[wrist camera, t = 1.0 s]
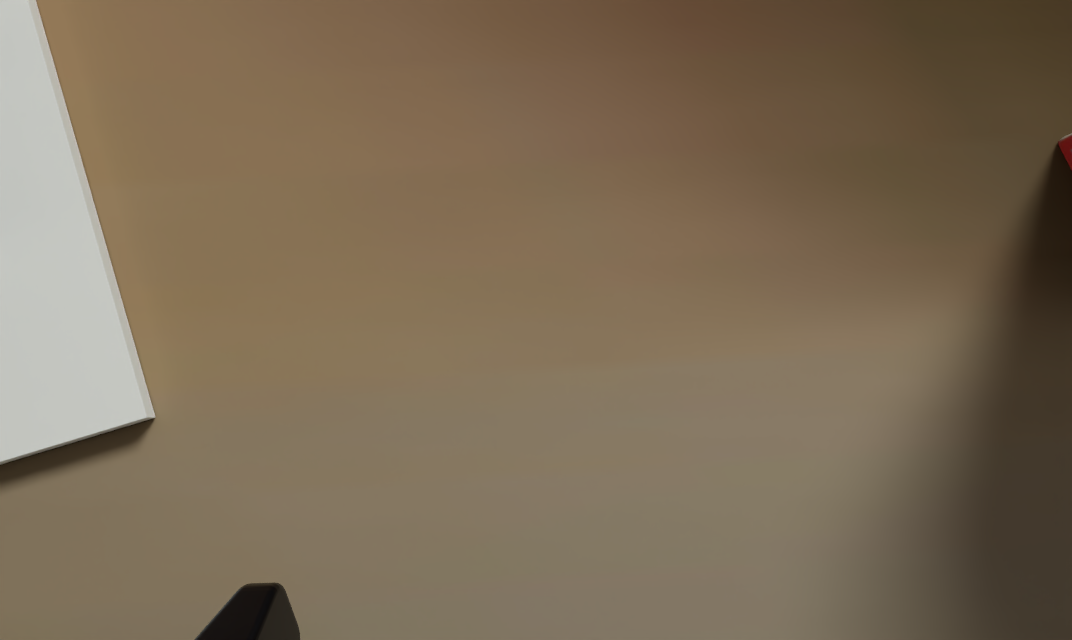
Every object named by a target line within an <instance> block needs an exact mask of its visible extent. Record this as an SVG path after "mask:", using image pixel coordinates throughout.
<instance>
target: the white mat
mask: <svg viewBox="0 0 1072 640" xmlns="http://www.w3.org/2000/svg"><path fill="white" fill-rule="evenodd" d="M152 418H155V414H154V411H153V407H152V404H151V400H150V397H149V393H148V390H147V386H146V383H145V379H144V376H143V372H142V369H141V365H140V362H139V358H138V355H137V351H136V348H135V344H134V341H133V337H132V334H131V331H130V327H129V324H128V320H127V317H126V313H125V310H124V306H123V303H122V299H121V296H120V292H119V289H118V285H117V282H116V278H115V275H114V271H113V268H112V264H111V261H110V257H109V254H108V250H107V247H106V243H105V240H104V236H103V233H102V229H101V226H100V223H99V219H98V216H97V212H96V209H95V205H94V202H93V198H92V195H91V191H90V188H89V184H88V181H87V177H86V174H85V170H84V167H83V163H82V160H81V156H80V153H79V149H78V146H77V142H76V139H75V135H74V132H73V128H72V125H71V122H70V118H69V115H68V111H67V108H66V104H65V101H64V97H63V94H62V90H61V87H60V83H59V80H58V76H57V73H56V69H55V66H54V62H53V59H52V55H51V52H50V48H49V45H48V41H47V38H46V34H45V31H44V27H43V24H42V21H41V17H40V14H39V10H38V7H37V3H36V0H0V464H4V463H7V462H10V461H14V460H17V459H20V458H24V457H27V456H30V455H33V454H37V453H40V452H43V451H47V450H50V449H53V448H57V447H60V446H63V445H66V444H70V443H73V442H76V441H80V440H83V439H86V438H90V437H93V436H96V435H99V434H103V433H106V432H109V431H113V430H116V429H119V428H123V427H126V426H129V425H132V424H136V423H139V422H142V421H146V420H149V419H152Z"/></svg>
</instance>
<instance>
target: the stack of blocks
mask: <svg viewBox="0 0 1072 640" xmlns="http://www.w3.org/2000/svg"><path fill="white" fill-rule="evenodd" d="M1058 144H1059V147H1060V149H1061V151H1062V153H1063V155H1064V156H1065V158H1066V160H1067V162H1068V164H1069V166H1070V168H1071V170H1072V133H1071V134H1069V135H1067V136H1065V137H1063V138H1062V139H1061V140H1060V141H1059V142H1058Z"/></svg>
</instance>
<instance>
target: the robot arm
mask: <svg viewBox="0 0 1072 640" xmlns="http://www.w3.org/2000/svg"><path fill="white" fill-rule="evenodd" d="M195 640H300V632H299V627H298V624H297V621H296V619H295V616H294V613H293V610H292V608H291V605H290V602H289V599H288V597H287V594H286V591H285V589H284V587H283V586H282V585H280V584H279V583H251V584H246V585H244V586H243V587H241V588H240V589H239V590H238V591H237V592H236V593H235V594H234V595H233V596H232V597H231V599H230V600H229V601H228V602H227V603H226V604H225V605H224V607H223V608H222V609H221V610H220V611H219V612H218V613H217V615H216V616H215V617H214V618H213V619H212V620H211V621H210V623H209V624H208V625H207V626H206V627H205V628H204V629H203V631H202V632H201V633H200V634H199V635H198V636H197V637H196V639H195Z"/></svg>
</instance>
